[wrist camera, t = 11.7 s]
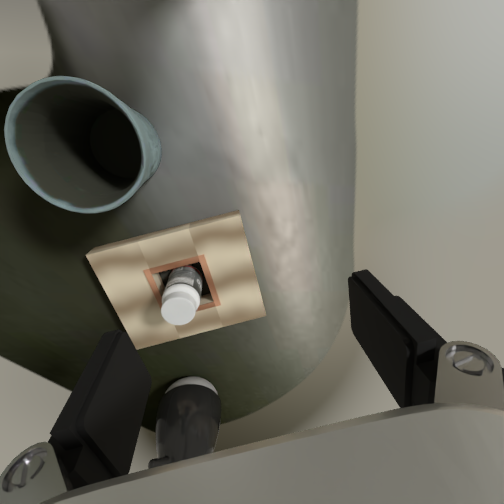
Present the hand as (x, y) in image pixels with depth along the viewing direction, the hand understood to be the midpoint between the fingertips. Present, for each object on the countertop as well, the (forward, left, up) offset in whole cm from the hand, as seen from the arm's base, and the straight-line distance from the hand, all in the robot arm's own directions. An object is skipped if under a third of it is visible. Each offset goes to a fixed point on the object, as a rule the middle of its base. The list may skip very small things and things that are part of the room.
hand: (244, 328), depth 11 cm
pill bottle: (+10, -9, -27) cm, 30 cm away
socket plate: (+10, -9, -27) cm, 30 cm away
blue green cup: (-9, -10, -27) cm, 30 cm away
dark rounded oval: (+31, -15, -27) cm, 44 cm away
